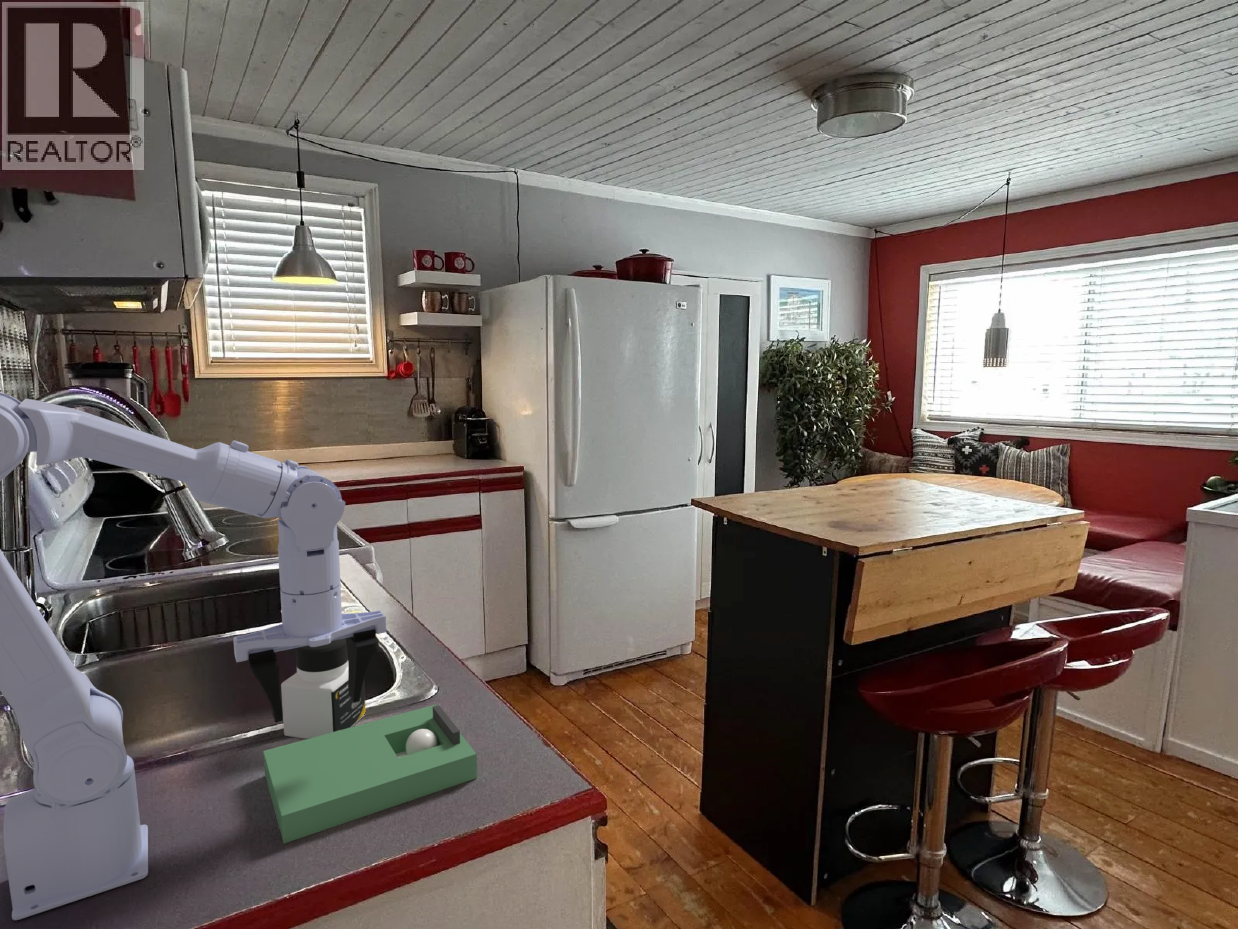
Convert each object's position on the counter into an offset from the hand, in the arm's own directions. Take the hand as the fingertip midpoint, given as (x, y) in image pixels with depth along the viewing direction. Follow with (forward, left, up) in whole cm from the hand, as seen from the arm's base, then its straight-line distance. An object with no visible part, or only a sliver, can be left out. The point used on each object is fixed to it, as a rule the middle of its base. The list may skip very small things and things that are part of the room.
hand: (317, 707), depth 75 cm
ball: (+11, 0, -8) cm, 14 cm away
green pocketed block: (+5, 0, -10) cm, 11 cm away
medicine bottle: (+3, +14, -10) cm, 17 cm away
